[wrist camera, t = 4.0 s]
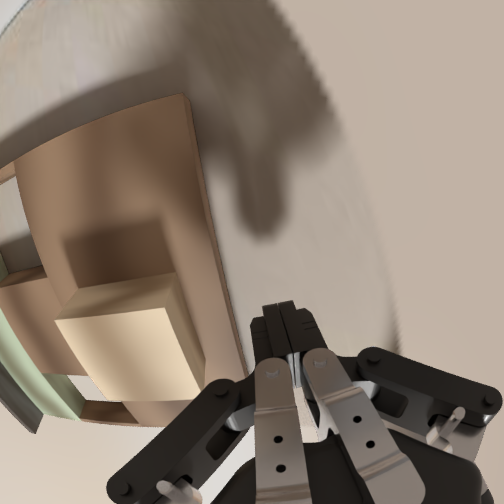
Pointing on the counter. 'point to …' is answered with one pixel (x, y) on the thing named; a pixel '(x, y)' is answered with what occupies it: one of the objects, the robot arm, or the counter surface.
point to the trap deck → (111, 255)
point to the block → (136, 339)
